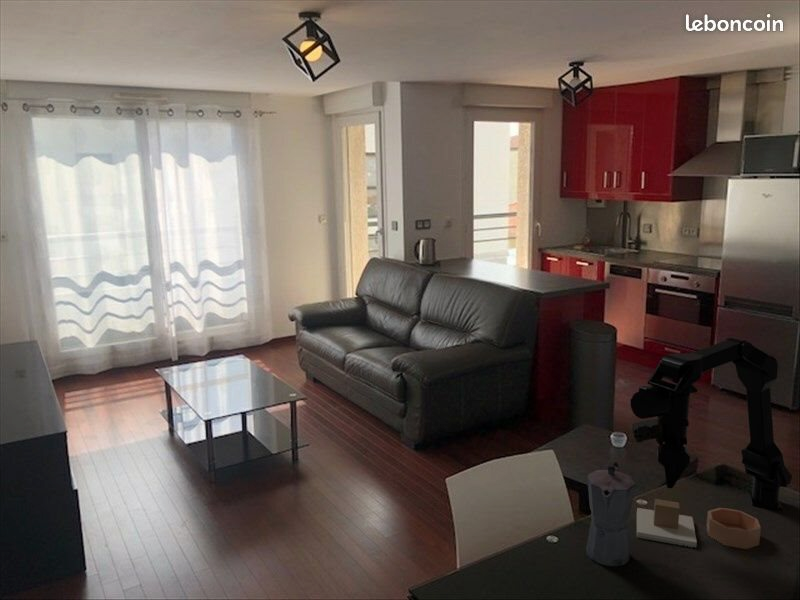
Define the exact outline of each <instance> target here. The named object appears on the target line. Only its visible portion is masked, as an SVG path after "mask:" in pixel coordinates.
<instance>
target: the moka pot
mask: <svg viewBox="0 0 800 600" xmlns="http://www.w3.org/2000/svg"><path fill="white" fill-rule="evenodd" d="M586 479H587V491H588V501H589V502H588V503H589V510H590V511H591V521H590V526H589V527H590V528H589V532H588V538H587V542H586V548H585V553H586V555H587V556H588V558H589V559H590V560H592V561H593V562H595V563H597V564H599V565H603V566H606V567H621V566H623V565H626V564H627V563H628V562H629V561H630V558H631V555H630V554H631V552H630V543H629V534H628V518H629V517H630V516H631V510H632V506H633V502H634V501H633V500H634V496H635V492H636V486H637V484H636V482H635V481H634V479H633V478H632V476H631V475H629V474H626V473H624V472H621V471H620V468H619V464H618V462H614V463H613V465H611V466H607V469H597V470H594V471H593V472H591V473H589V474H588V475H587V477H586Z"/></svg>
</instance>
